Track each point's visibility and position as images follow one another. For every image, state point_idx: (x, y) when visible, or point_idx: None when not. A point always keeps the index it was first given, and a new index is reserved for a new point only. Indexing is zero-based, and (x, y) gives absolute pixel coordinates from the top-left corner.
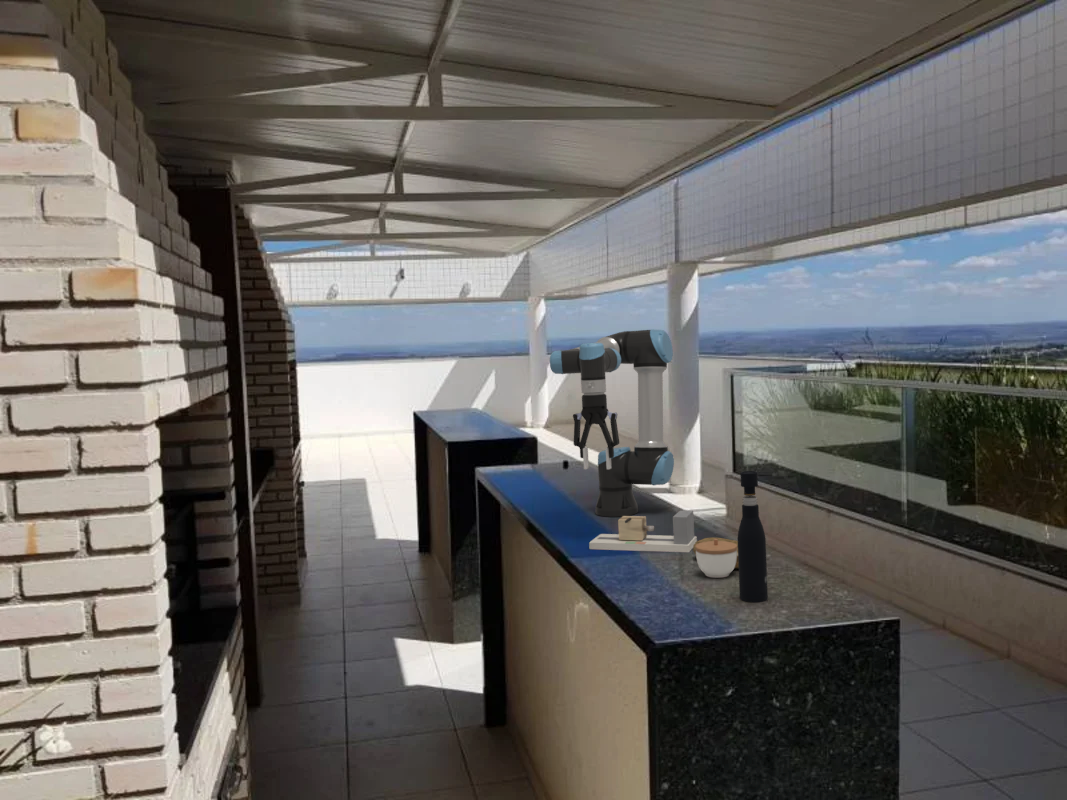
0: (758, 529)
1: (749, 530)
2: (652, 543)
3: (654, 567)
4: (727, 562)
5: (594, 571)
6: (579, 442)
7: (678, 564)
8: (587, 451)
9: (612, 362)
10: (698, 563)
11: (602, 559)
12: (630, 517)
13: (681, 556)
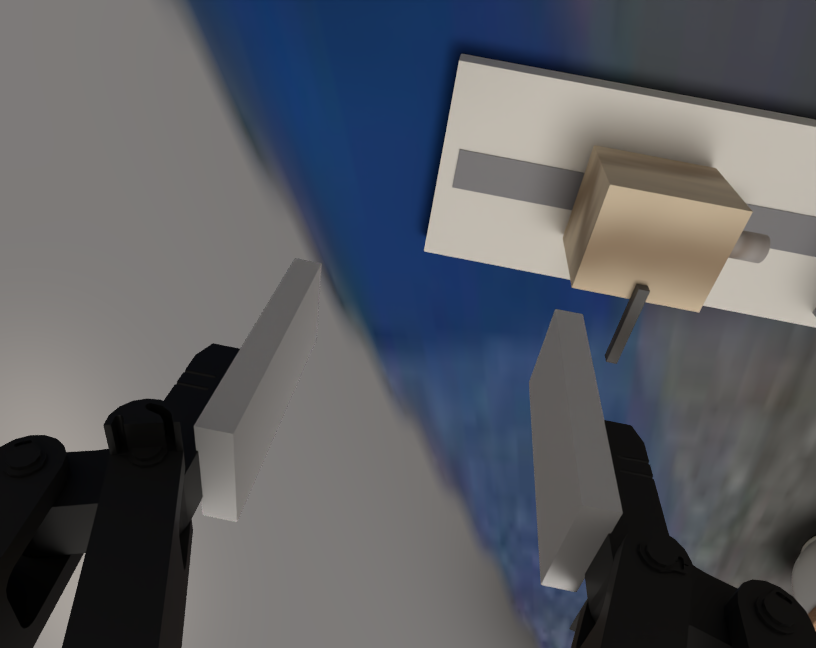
0: None
1: None
2: (715, 291)
3: (666, 475)
4: None
5: (479, 489)
6: (79, 527)
7: (755, 456)
8: (257, 408)
9: None
10: (792, 590)
11: (494, 381)
12: (650, 231)
13: (801, 371)
